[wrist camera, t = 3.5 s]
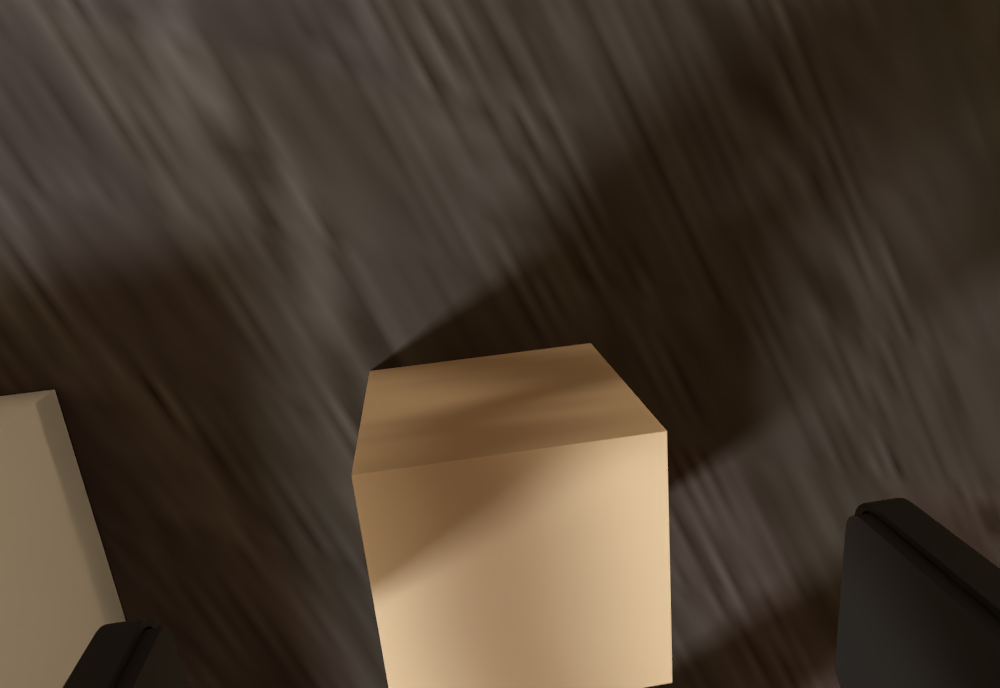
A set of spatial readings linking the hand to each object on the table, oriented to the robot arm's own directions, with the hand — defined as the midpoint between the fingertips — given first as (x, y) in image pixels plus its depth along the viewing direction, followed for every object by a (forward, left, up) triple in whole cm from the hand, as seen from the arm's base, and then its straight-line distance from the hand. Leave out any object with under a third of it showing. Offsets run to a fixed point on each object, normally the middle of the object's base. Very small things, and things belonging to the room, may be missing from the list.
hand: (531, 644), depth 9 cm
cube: (0, +1, -7) cm, 7 cm away
